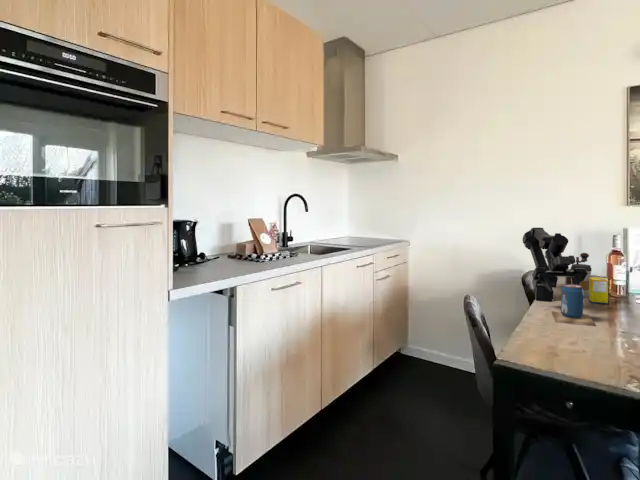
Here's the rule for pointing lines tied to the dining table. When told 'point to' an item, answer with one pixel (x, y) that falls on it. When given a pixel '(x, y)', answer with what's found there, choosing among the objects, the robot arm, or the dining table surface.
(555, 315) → the tan flat square slab
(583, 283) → the coffee cup
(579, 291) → the soda can
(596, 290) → the supplement box
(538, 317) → the dining table surface
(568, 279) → the manual coffee grinder
